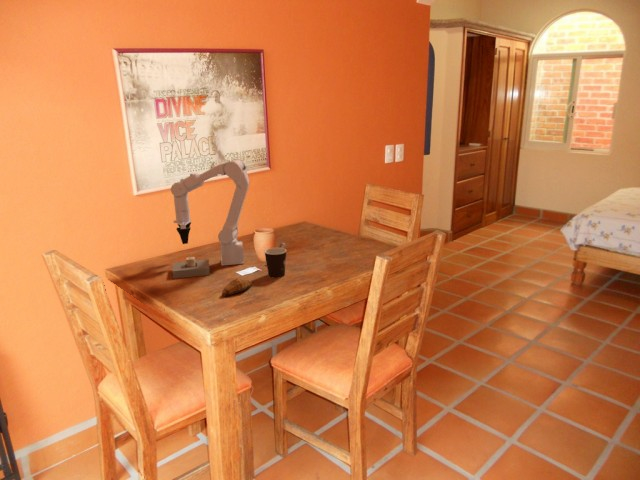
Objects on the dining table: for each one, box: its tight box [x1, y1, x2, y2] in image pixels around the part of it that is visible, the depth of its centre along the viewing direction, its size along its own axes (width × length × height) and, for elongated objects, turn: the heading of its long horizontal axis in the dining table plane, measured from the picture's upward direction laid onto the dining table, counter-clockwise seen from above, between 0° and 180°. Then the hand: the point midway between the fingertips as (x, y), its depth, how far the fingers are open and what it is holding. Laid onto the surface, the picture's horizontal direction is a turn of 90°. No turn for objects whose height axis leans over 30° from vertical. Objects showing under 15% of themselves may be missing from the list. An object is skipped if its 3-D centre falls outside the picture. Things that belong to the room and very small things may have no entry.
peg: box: [185, 256, 196, 267], centre depth 196 cm, size 3×3×6 cm
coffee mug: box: [264, 247, 287, 279], centre depth 191 cm, size 12×9×10 cm
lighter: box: [278, 242, 286, 249], centre depth 206 cm, size 7×2×8 cm, turn 131°
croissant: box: [221, 278, 253, 297], centre depth 176 cm, size 14×7×5 cm, turn 140°
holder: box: [172, 259, 210, 279], centre depth 196 cm, size 14×11×3 cm
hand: (185, 241), depth 207 cm, fingers open, 7 cm apart
